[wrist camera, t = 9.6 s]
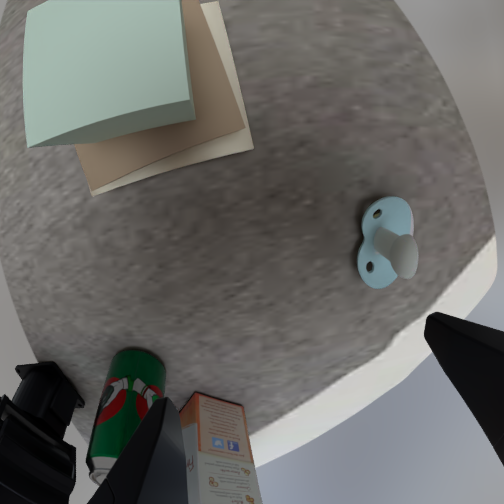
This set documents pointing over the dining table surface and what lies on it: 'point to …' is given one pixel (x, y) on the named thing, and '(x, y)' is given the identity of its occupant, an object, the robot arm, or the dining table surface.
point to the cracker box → (218, 453)
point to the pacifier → (387, 243)
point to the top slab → (179, 134)
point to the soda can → (122, 407)
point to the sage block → (104, 70)
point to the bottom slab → (213, 147)
